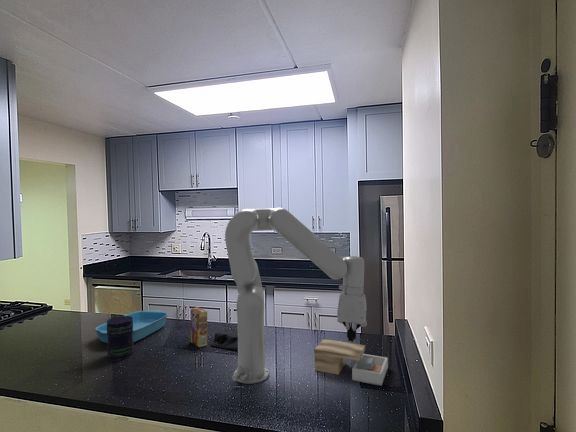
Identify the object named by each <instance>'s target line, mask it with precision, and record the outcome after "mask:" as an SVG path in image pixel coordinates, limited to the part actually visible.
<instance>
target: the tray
mask: <svg viewBox="0 0 576 432" xmlns="http://www.w3.org/2000/svg"><path fill="white" fill-rule="evenodd" d="M361 358H374V362H375V364H374V365H378V366H382V368H381V370H380V373H379V372H374V371H368V370H365V369H358V365H357V363H358V361H357V360H355V363H354V365H353V367H352V368H351V372H352V373H351V377H352V378H351V379H352V381H355V382H358V383H359V382H361V383H366V384H370V385H376V386H383V383H384V380H385V378H386V375H387V372H388V368H389V366H388V365H389V364H388V363H389V362H388V361H389V358H388V357H387V356H379V355H373V354H367V353H363V354H362V356H361Z"/></svg>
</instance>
